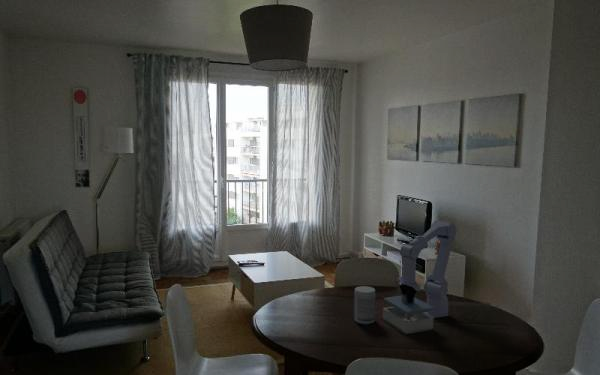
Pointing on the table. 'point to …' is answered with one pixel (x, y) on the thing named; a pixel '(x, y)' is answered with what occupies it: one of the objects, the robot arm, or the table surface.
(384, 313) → the parts tub
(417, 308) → the snap lid
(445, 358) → the table surface
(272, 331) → the table surface
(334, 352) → the table surface
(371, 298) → the supplement tub
